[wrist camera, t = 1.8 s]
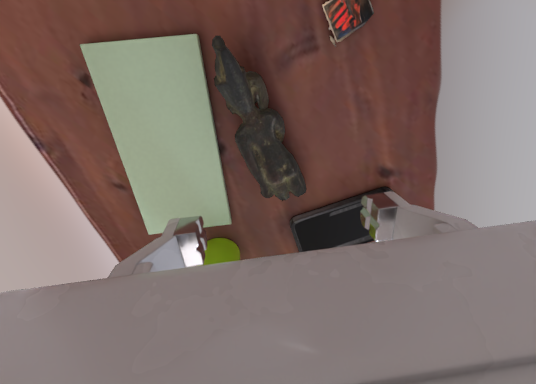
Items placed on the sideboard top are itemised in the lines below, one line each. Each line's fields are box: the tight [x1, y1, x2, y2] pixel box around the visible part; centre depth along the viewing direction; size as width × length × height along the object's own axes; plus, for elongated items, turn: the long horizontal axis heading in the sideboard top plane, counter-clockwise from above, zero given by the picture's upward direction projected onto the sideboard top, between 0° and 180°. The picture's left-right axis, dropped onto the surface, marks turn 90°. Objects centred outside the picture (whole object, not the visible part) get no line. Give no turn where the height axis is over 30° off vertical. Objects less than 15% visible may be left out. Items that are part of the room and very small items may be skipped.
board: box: [80, 34, 232, 234], centre depth 30 cm, size 22×11×1 cm, turn 5°
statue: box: [212, 36, 306, 201], centre depth 28 cm, size 6×6×20 cm
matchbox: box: [322, 0, 374, 47], centre depth 26 cm, size 5×5×1 cm
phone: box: [290, 187, 394, 252], centre depth 37 cm, size 8×1×15 cm
